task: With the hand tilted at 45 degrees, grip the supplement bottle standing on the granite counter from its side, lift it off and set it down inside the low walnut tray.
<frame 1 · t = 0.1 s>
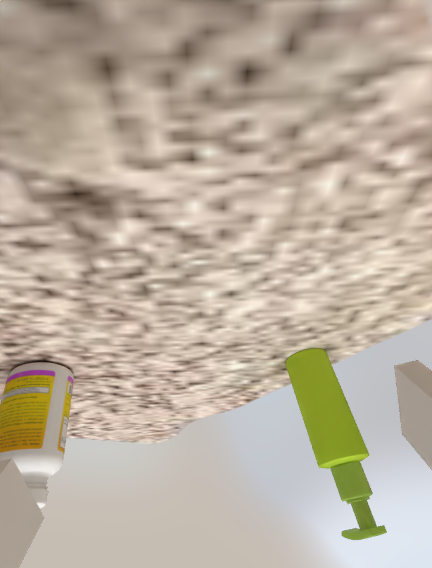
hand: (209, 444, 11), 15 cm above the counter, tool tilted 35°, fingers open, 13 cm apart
soap dispenser: (303, 358, 45), on the counter
supplement bottle: (43, 371, 36), on the counter
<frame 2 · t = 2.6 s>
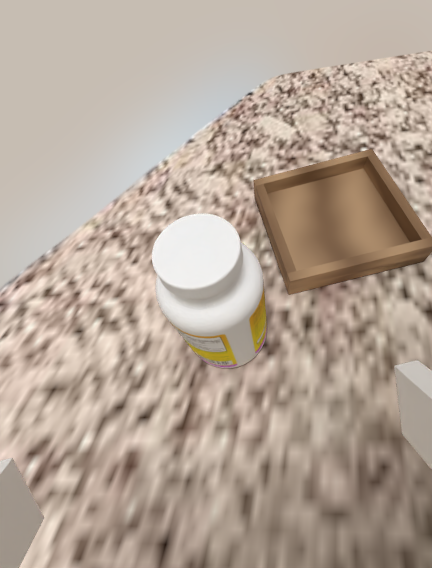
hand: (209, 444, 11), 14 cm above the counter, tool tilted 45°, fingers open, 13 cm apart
supplement bottle: (228, 332, 27), on the counter
walnut tray: (330, 226, 30), on the counter
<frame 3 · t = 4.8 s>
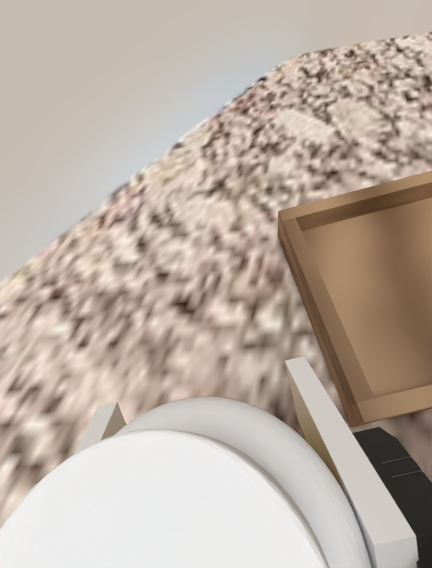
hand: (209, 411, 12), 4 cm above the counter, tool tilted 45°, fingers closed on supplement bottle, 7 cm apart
supplement bottle: (240, 503, 15), on the counter, touching gripper
walnut tray: (411, 290, 18), on the counter
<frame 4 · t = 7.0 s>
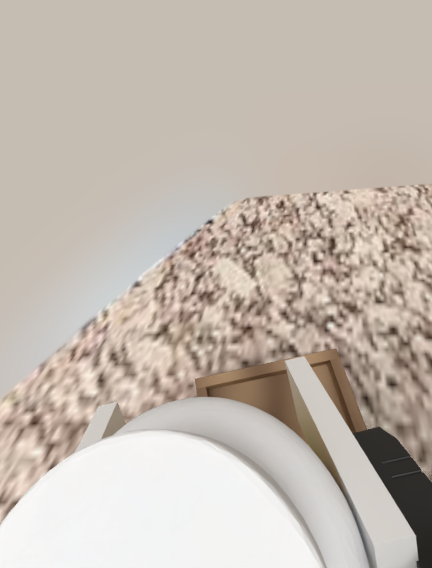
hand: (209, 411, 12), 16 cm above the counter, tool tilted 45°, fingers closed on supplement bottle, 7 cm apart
supplement bottle: (240, 503, 15), point 11 cm above the counter, touching gripper
walnut tray: (283, 443, 25), on the counter
when the fingers open (7 cm above the counter, at t = 9.4 s): supplement bottle drops 1 cm, resting on walnut tray.
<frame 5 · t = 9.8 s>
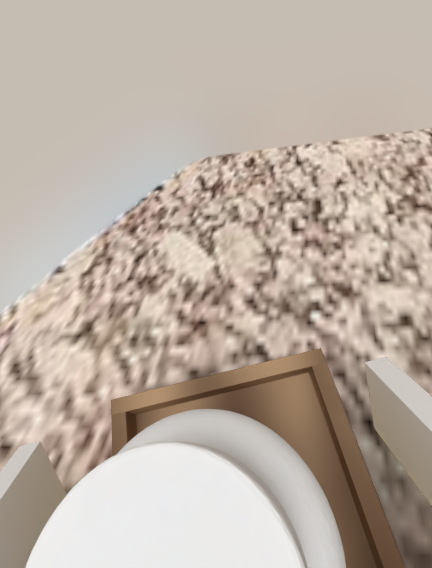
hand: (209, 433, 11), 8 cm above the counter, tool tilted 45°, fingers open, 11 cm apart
supplement bottle: (239, 501, 16), point 1 cm above the counter, touching walnut tray
walnut tray: (244, 497, 17), on the counter
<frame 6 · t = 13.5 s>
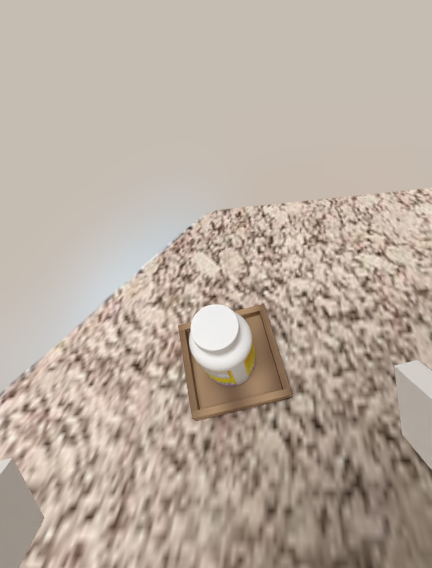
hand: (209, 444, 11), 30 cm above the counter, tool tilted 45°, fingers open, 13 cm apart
supplement bottle: (230, 361, 41), point 1 cm above the counter, touching walnut tray
walnut tray: (232, 362, 42), on the counter
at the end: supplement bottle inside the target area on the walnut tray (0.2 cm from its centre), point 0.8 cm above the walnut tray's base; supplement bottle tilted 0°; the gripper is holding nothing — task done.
